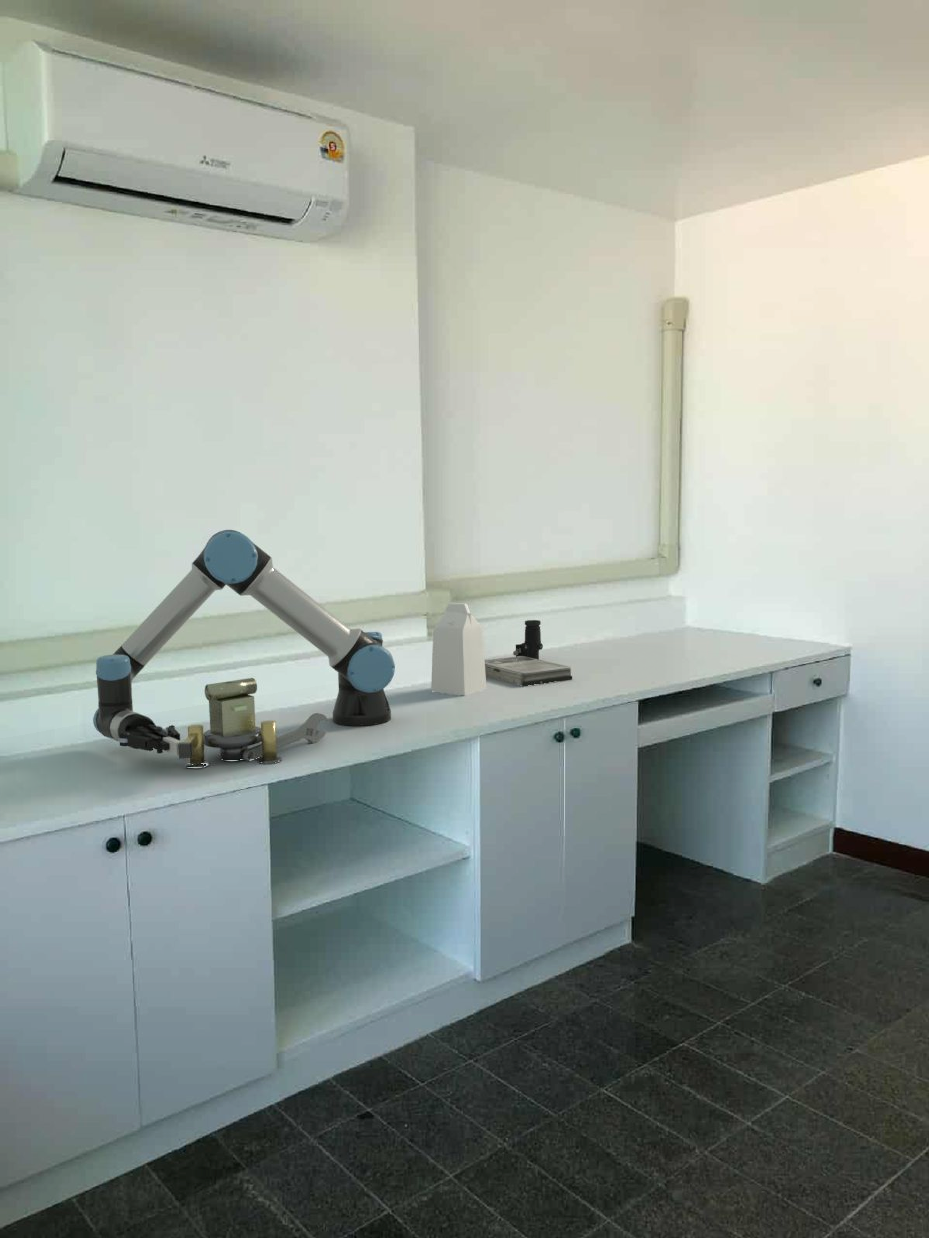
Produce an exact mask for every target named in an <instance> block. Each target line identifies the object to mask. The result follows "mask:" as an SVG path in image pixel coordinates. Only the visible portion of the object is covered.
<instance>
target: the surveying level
mask: <svg viewBox="0 0 929 1238" xmlns="http://www.w3.org/2000/svg"><path fill="white" fill-rule="evenodd" d="M257 690H258V684H257V680H255V678H253V677H248V678H242V679H235V680H229V681H228V680H227V681H223V682H222V681H221V682H215V683H208V684H206V685H205V686H204V695H205V696H204V697H205V698H206V700H207V701H208V707H209V708H208V711H209V728H210V729H207V730H206V731H203V737H204V746H207V747H210V748H217V749H219V752H220V760H221V759H223V760H240V759H243V753H244V751H245V750H247V749H249V747H250V746H254V745H257V744H260V743H261V744H262V757H261V758H259V759H257V762H258V761H259V762H262V763H274V764H276V763H275V762H278V761H280V760H282V761H283V759H282V757H281V756H278V750H277V745H276V738H277V729H276V728H277V726H276V725H277V724H276V721H275V720H262V721H261V722H260V727H259V726H256V709H255V708H256V707H255V696H254V694H256V693H257ZM252 694H253V695H252ZM188 763H190V761H189V762H188ZM204 763H210V762H209V761H207V760H205V762H204ZM278 763H279V762H278ZM185 766H186V767H204V766H206V764H204V765H203V764H193V765H192V764H187V763H185V764H184V767H185Z"/></svg>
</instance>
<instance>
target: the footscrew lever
mask: <svg viewBox="0 0 929 1238" xmlns="http://www.w3.org/2000/svg"><path fill="white" fill-rule="evenodd" d="M187 734H188V735H187V737H186V738H185V739H184V740H183V741H182V742H183V743H179V744H178V748H179V755H178V758H179V759H189V762H190V764H201V763H204V762H205V761H206V759H205V745H204V737H203V734H204V725H203V724H191V725H189V726H187Z"/></svg>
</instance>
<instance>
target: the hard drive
mask: <svg viewBox="0 0 929 1238" xmlns="http://www.w3.org/2000/svg"><path fill="white" fill-rule="evenodd" d="M484 660H485V674H486V676H487V677H486V678H490V679H493V678H495V679H494V680H497V679H498V681H502V682H505V681H507V682H506V683H508V682H510V683H509V684H512V683H513V685H516V684H519V685H518V686H520V685H522V686H521V687H524V686H525V687H529V686H528V685H532V686H535V685H534V684H539V685H545V684H544V683H546V684H550V683H549V682H553V683H555V682H554V681H560V682H566V681H572V680H573V675H572V667H571V666H568V665H565V664H561V663H557V662H556V663H555V662H551V661H546V660H543V659H542V660H541V659H539V660H538V659H534V658H529V657H525V656H517V657H516V656H509V657H503V658H493V659H484Z"/></svg>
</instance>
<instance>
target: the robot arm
mask: <svg viewBox="0 0 929 1238" xmlns="http://www.w3.org/2000/svg"><path fill="white" fill-rule="evenodd" d="M225 586H227V587H229V588H230V589H231V590H232V591H233V592H235V593H236V594H238V595H239V596H240V597H241V596H243V597H244V596H251V597H252V598H253V599H254V600H256V601H257V602H258V603H259V604H260V605H262V606H263V607H264V608H266V609H267V610H268V611H270V612H271V613H272V614H274V615H275V616H276V617H277V618H278V619H280V620H281V621H282V622H283V623H285V624H286V625H287V626H288V627H290V628H291V629H293V631H295V632H296V633H297V634H299V635H300V636H302V637H303V638H304V639H305V640H307V641H308V642H309V643H310V644H311V645H312V646H314V647H315V648H317V649H318V650H319V651H320V652H321V653H323V654H324V655H326V656H327V658H328V663H329V666H330V667H331V668H332V669H333V670H335V672H336V673H337V676H338V677H337V678H338V679H337V681H338V683H337V684H338V692H337V693H338V694H337V696H336V699H335V702H334V706H333V711H332V722H333V723H334V724H338V725H342V726H352V727H353V726H356V727H357V726H371V725H372V726H373V725H378V724H379V725H380V724H383V723H386V722H389V721H390V720H392V711H391V707H390V704H389V700H388V699H387V696H386V692H385V690H384V689H385V688H386V687H388V685H389V684H390V683H391V682H392V679H393V677H394V675H395V669H396V668H395V667H396V665H395V661H394V658H393V655H392V653H391V652H390V651H389V650H388V649H387V648H386V647H384V646H383V642H384V640H383V634H382V633H381V632H380V631H364V630H362V629H361V628H349V626H347V625H346V624H345V623H344V622H342V621H341V620H339V619H338V618H337V617H336V616H335V615H333V614H332V613H331V612H330V611H329V610H327V609H326V608H325V607H324V606H323V605H321V604H320V603H318V601H316V600H315V599H314V598H312V597H311V596H310V595H308V594H307V593H306V592H305V591H304V590H302V589H301V588H300V587H299V586H297V585H296V584H295V583H294V582H292V580H290V579H289V578H287V577H286V576H285V575H284V574H282V573H281V572H280V571H279V570H278V569H276V568H275V567H274V565H273V558H272V556H270V555H269V554H268V553H266V552H265V551H264V550H263V549H261V548H260V547H259V546H258V545H256V544H255V542H253V541H252V540H251V539H250V538H249V537H248V536H246V535H245V534H244V533H241V532H240V531H238V530H234V529H224V530H220V531H218V532H216V533H215V534H213V535H212V536H211V537H210V538H209V539H208V541H207V543H206V544H205V546H204V548H203V549H202V550H201V552H200V554H198V556H197V557H196V558H195V559H194V560H193V562H191V569H190V571H189V572H188V573H187V574H186V575H185V576H184V577H183V578H182V579H181V581H179V583H178V584H176V586H175V587H174V588H173V589H172V590H171V591H170V593H168V594H167V596H165V598H164V599H163V600H162V601H161V602H160V603H159V604H158V605H157V606H156V607H155V609H153V610H152V611H151V613H150V614H149V615H148V616H147V617H146V618H145V619H144V620H143V621H142V622H141V624H140V625H139V626H138V627H137V628H136V629H135V630H134V631H133V632H132V633H131V634H130V635H129V636H128V638H127V639H126V640H125V641H123V642H122V644H121V645H120V646H119V648H117V650H116V651H115V652H113V653H112V654H108V655H102V656H100V657H97V659H96V661H95V662H96V664H95V667H96V668H95V669H96V670H95V675H96V685H97V701H98V705H97V706H98V707H97V709H96V711H95V713H94V715H93V717H92V721H93V722H92V723H93V726H94V728H95V729H96V731H97V732H98V733H100V734H101V735H102V736H104V737H106V738H109V739H111V740H114V741H117V742H119V746H120V747H129V748H131V749H136V750H141V751H142V750H143V751H148V752H151V751H154V749H155V750H156V753H157V754H163V752H164V751H165V752H167V753H170V754H172V755H174V756H176V757H177V756H178V757H179V748H178V744H179V743H183V742H184V741H182V740H181V733H179V731H178V730H176V727H175V725H172V724H171V725H169V726H166V727H165V729H164V728H163V727H162V726H159V725H156V723H155V722H154V721H153V719H151V718H150V717H149V716H146V715H143V714H141V713H139V712H135V711H134V708H133V706H134V705H133V689H132V682H133V680H134V678H136V677H137V676H138V674H139V673H140V672H141V671H142V670H143V669H144V668H145V666H146V665H147V664H148V663H149V662H150V661H151V660H152V659H153V658H154V657H155V656H156V655H157V654H158V653H159V651H160V650H161V649H162V648H163V647H164V646H165V645H166V644H167V643H168V642H169V641H170V640H171V639H172V638H173V637H174V635H175V634H176V633H177V632H178V631H179V630H180V629H181V627H183V626H184V624H185V623H186V622H187V621H188V620H189V619H191V617H192V616H193V615H194V614H195V613H196V612H197V610H199V609H200V607H201V606H203V604H204V603H205V602H206V601H207V600H208V598H210V597H211V595H212V594H213V593H214V592H215V591H222V590H223V589H224V587H225Z"/></svg>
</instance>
